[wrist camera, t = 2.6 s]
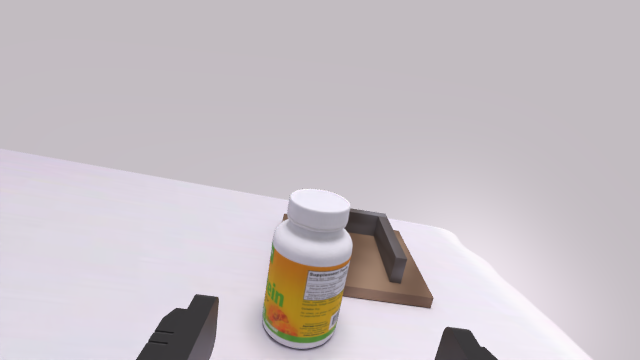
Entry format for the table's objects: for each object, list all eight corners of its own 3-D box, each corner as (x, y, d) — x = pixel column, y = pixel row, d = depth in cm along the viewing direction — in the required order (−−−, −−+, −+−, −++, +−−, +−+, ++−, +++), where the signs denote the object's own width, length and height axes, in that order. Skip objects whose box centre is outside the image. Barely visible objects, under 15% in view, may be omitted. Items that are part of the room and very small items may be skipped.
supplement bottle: (253, 303, 26) (268, 183, 23) (317, 294, 28) (338, 185, 25) (273, 359, 21) (295, 217, 18) (348, 343, 23) (377, 215, 21)
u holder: (267, 285, 28) (273, 248, 27) (283, 221, 41) (287, 194, 40) (430, 307, 29) (441, 272, 28) (396, 238, 41) (403, 212, 40)
